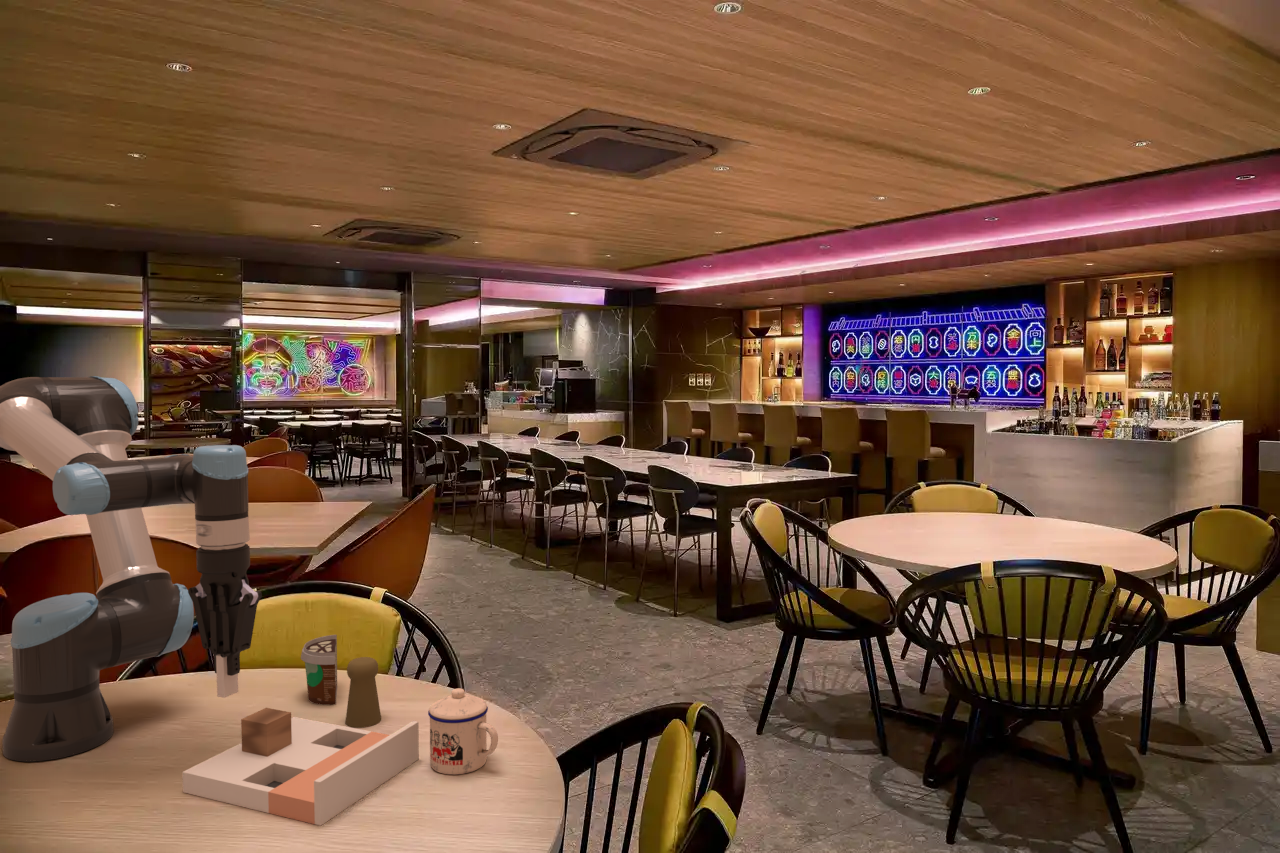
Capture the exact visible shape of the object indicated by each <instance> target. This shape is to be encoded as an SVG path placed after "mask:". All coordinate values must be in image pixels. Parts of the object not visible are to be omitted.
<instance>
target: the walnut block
mask: <svg viewBox="0 0 1280 853" xmlns="http://www.w3.org/2000/svg"><path fill="white" fill-rule="evenodd" d="M291 718H292V712H291V711H286V710H280V709H274V708H269V707H265V708H264V707H263V708H262V709H260V710H258V711H256V712H253V713H252V714H249V715H247V716H246V717H243V718H241V720H240V722H241V723H240V724H241V726H240V727H241V730H240V731H241V734H240V735H241V743H242V751H243V752H247V753H252V754H257V755H261V756H266V757H268V756H270V755H272V754H273V753H275V752H277V751H279V750H281V749H283V748H285V747H287V746H288V745H290V744H292V732H291Z"/></svg>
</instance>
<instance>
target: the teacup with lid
mask: <svg viewBox="0 0 1280 853" xmlns="http://www.w3.org/2000/svg"><path fill="white" fill-rule="evenodd" d="M488 710H489V706H488V704H487V702H486V701H485V700H484V699H482V698H481V697H477V696H475V695H474V696H473V695H470V694H467V693H465V690H464V688H459V687H458V688H454V689H452V690H451V694H450V695H447V696H445V697H442V698H440V699H437V700H436V701H434V702H433V703H432V704H430V707H429V708H428V712H427V713H428V716H429V751H430V752H429V758H430V759H429V761H430V762H429V763H430V766H431V769H433V770H434V772H437V773H440V774H443V775H464V774H469V773H472V772H475V771H477V770H479V769H481V768H482V767H483V766H484V765H485V764H486V761H487V758H488V757H487V756H490V755H492V754H493V753H494V752H495V751H496V750H497V748H498V747H497V746H498V744H499V736H498V732H497V729H495V727H494V726H493V725H492V724H489V723H487V712H488ZM487 734H489V736H490V745H489V748H488V749H487Z"/></svg>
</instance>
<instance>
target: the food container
mask: <svg viewBox="0 0 1280 853" xmlns="http://www.w3.org/2000/svg"><path fill="white" fill-rule="evenodd" d="M337 641H338V639H337V634H330V635H324V636H319V637H316V638H314V639H313V638H312V639H310V640H309V641H307V642H305V644H304V645H303V648H302V650H301V654H300V659H301V660H302V661H303V662H304V664H305V665H304V666H305V667H304V668H305V674H306V675H305V676H306V677H305V678H306V687H307V695H308V696H307V698H308V701H309V702H310V703H312V704H315V705H321V706H322V705H323V706H331V705H332V706H334V705H336V704H337V692H338V648H337V647H338V642H337Z"/></svg>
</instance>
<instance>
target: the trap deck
mask: <svg viewBox="0 0 1280 853" xmlns="http://www.w3.org/2000/svg"><path fill="white" fill-rule="evenodd" d="M419 727H420V726H419V721H416V720H412V721H410V722H409V723H407V724H406V725H403V727H400V728H399V729H398V730H396V731H394V732H393V733H391V734H386V733H381V732H377V731H371V730H365V729H361V728H353V727H349V726H345V725H339V724H335V723H334V724H333V723H328V722H323V721H318V720H314V719H307V718H301V717H297V716H293V717H292V716H291V732H292V744H290V745H288V746H287V747H285V748H283V749H281V750H279V751H277V752H275V753H273V754H272V755H270V756H268V757H266V756H261V755H257V754H252V753H247V752H243V751H242V742H239V743H238V744H236V745H234V746H232V747H230V748H228V749H225V750H224V751H222V752H219V753H218V754H216V755H213V756H212V757H210V758H208V759H206V760H204V761H202V762H200V763H198V764H195V765H193V766H192V767H190V768H187V769H186V770H183V771H181V772H182V774H181V775H182V792H183V793H185V794H189V795H194V796H196V797H197V796H198V797H201V798H206V799H209V800H214V801H218V802H221V803H226V804H229V805H234V806H239V807H244V808H246V809H250V810H254V811H258V812H263V813H268V814H272V815H275V816H279V817H283V818H288V819H291V820H296V821H300V822H303V823H308V824H312V825H316V826H320V827H321V826H323V825H324V824H325V823H327V822H328V821H330V820H332V819H333V818H334V817H335V816H337V815H339V814H340V813H342V812H343V811H345V810H346V809H348V808H349V807H350V806H352V805H353V804H355V803H356V802H358V801H359V800H361V799H362V798H364V797H365V796H366V795H368V794H370V793H371V792H372V791H374V790H375V789H377V788H378V787H380V786H381V785H383V784H384V783H386V782H387V781H389V780H390V779H392V778H393V777H395V776H396V775H397V774H399V773H400V772H402V771H403V770H405V769H407V768H408V767H409V766H411V765H412V764H414V763H415V762H417V761H418V760H419V759H420V751H419V750H420V749H419V748H420V742H419V741H420V740H419V738H420V737H419V733H420V732H419Z"/></svg>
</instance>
